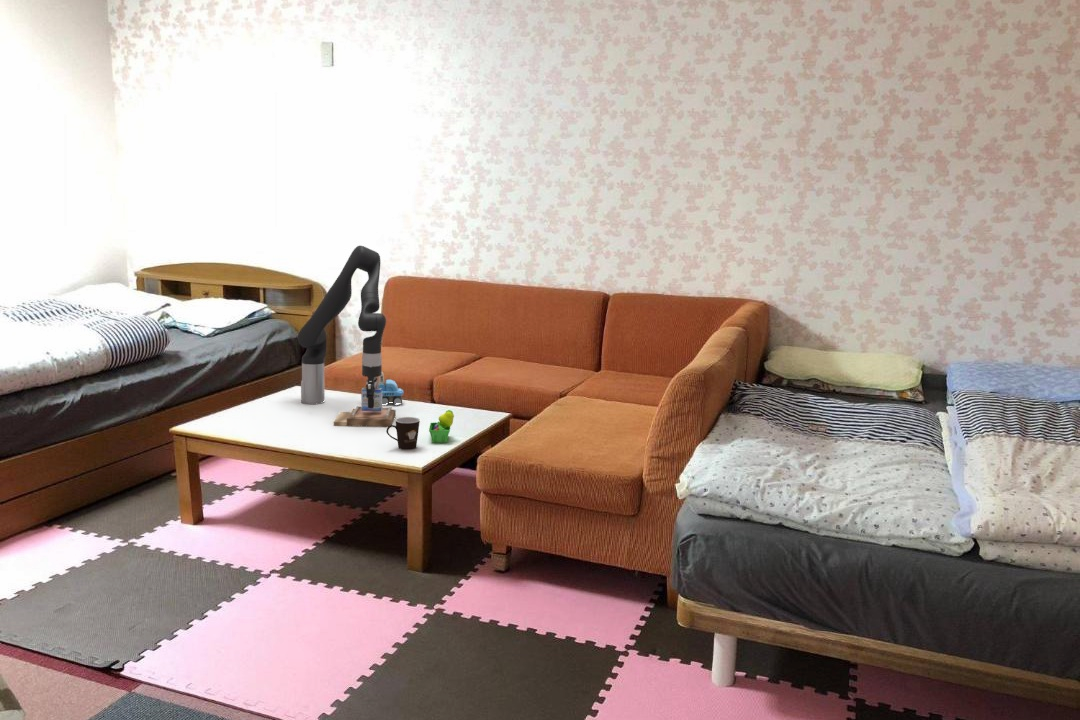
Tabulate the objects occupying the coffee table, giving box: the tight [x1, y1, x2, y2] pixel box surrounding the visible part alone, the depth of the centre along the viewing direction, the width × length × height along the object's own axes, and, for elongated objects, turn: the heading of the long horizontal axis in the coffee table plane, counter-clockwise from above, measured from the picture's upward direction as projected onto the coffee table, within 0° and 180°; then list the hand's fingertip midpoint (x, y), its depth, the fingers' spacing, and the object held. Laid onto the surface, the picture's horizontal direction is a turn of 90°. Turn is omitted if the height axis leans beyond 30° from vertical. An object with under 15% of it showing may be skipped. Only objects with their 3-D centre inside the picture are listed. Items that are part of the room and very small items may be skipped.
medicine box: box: [360, 387, 383, 411], centre depth 334 cm, size 8×4×9 cm, turn 95°
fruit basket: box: [428, 409, 455, 444], centre depth 312 cm, size 11×9×11 cm
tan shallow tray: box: [333, 405, 397, 428], centre depth 335 cm, size 22×16×4 cm
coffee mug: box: [386, 416, 420, 451], centre depth 301 cm, size 12×9×10 cm
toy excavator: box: [377, 371, 405, 405], centre depth 363 cm, size 9×17×17 cm, turn 100°
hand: (371, 405), depth 334 cm, fingers closed on medicine box, 4 cm apart
